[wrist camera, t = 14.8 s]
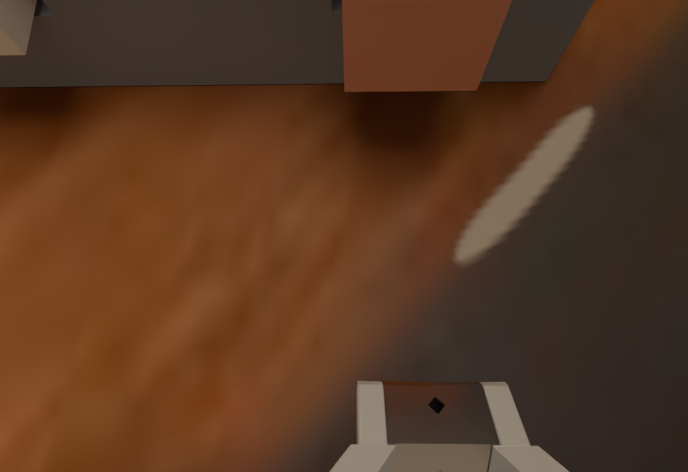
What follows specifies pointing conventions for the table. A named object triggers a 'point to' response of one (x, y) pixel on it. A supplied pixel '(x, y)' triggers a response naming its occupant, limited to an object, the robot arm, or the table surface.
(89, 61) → the block
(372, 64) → the rust plug
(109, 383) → the table surface
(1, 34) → the beige plug
